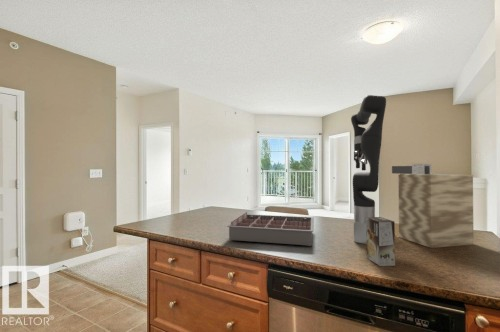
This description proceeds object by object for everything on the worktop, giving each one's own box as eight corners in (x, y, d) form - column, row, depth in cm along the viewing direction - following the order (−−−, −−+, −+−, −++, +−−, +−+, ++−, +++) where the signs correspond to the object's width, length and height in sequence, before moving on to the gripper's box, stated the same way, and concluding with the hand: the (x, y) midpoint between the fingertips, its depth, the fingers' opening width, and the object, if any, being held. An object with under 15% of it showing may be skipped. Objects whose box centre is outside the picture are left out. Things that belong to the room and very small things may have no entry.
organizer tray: (313, 249, 110) (313, 226, 110) (227, 243, 120) (226, 222, 120) (313, 231, 141) (313, 213, 141) (244, 227, 151) (244, 210, 151)
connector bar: (431, 174, 121) (431, 163, 121) (422, 174, 119) (422, 163, 119) (398, 173, 140) (398, 164, 140) (390, 173, 139) (390, 164, 139)
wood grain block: (473, 244, 117) (472, 174, 117) (431, 247, 111) (430, 174, 112) (436, 234, 134) (436, 173, 135) (398, 237, 129) (398, 173, 129)
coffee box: (396, 265, 91) (395, 221, 91) (379, 266, 90) (379, 221, 91) (380, 257, 100) (380, 216, 100) (365, 257, 100) (365, 216, 100)
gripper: (361, 140, 152) (362, 167, 149) (371, 145, 162) (371, 170, 159) (349, 142, 157) (349, 168, 154) (359, 147, 167) (359, 171, 164)
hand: (360, 169), depth 157 cm, fingers open, 8 cm apart
